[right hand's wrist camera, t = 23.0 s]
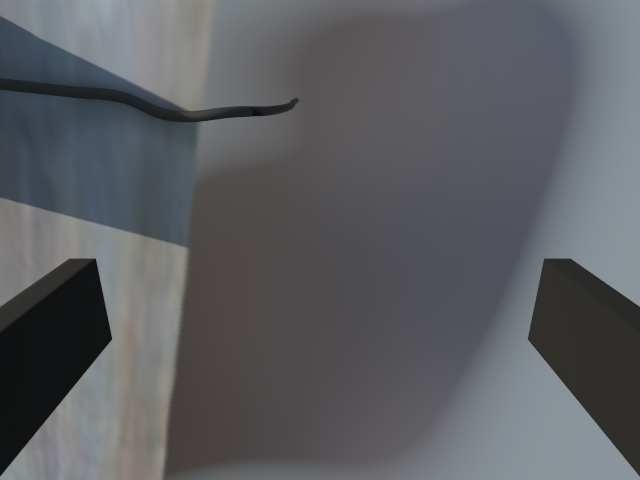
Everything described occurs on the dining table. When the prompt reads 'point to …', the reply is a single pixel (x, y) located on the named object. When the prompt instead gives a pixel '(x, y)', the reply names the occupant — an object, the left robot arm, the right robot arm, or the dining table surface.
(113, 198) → the dining table surface
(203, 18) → the dining table surface
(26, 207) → the dining table surface
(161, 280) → the dining table surface
